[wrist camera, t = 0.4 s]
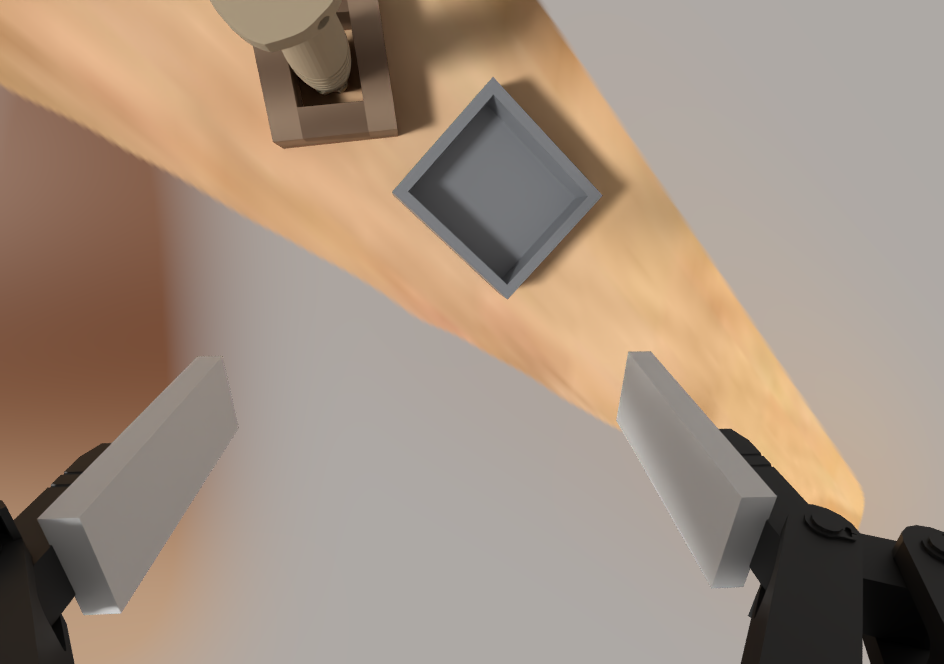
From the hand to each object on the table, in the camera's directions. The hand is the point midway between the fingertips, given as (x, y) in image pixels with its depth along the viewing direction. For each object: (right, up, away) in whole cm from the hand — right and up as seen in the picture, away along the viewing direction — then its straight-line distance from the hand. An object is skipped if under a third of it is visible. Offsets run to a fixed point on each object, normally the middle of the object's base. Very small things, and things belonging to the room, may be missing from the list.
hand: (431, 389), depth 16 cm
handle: (-9, +21, +19) cm, 30 cm away
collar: (-9, +21, +19) cm, 30 cm away
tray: (+3, +13, +23) cm, 26 cm away
